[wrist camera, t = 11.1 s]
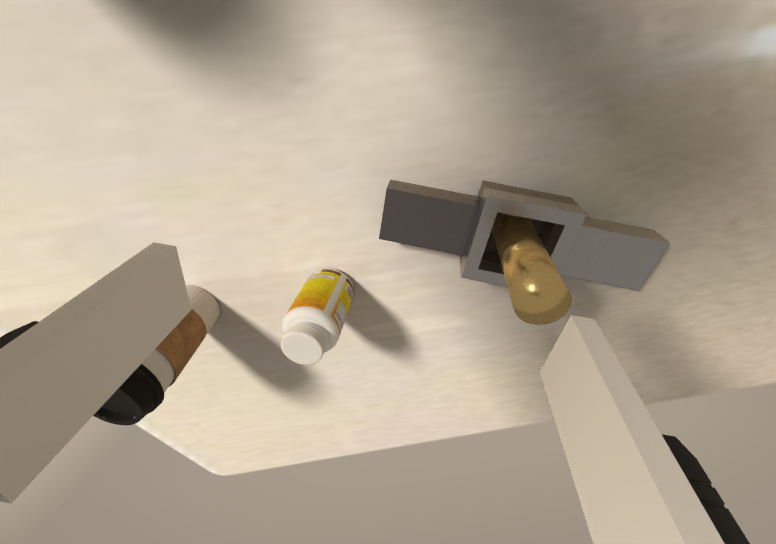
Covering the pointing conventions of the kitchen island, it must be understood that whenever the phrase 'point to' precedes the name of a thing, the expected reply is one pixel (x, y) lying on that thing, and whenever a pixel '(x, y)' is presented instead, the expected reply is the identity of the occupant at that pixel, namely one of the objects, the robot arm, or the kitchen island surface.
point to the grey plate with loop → (562, 215)
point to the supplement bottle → (317, 316)
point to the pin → (529, 272)
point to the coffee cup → (162, 363)
